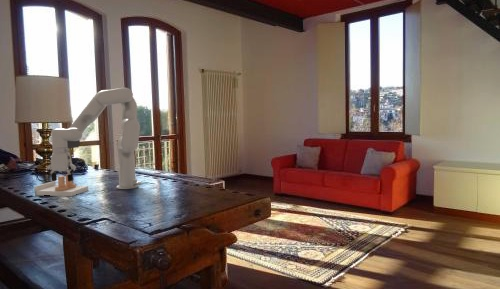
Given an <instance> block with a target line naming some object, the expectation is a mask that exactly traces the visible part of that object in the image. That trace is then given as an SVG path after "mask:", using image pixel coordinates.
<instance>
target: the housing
mask: <svg viewBox="0 0 500 289" xmlns="http://www.w3.org/2000/svg"><path fill="white" fill-rule="evenodd" d="M73 182H74V180H73V181H68V174H65V186H69V189H68V190H64V191H55V187H58V184H56V181H49V182H45V183H42V184H38V185H35V186H34V196H44V195H50V197H51V196H53V197H73V196H74V197H75V196H77V195H79V194H81V193H85V192H88V191H89V186H88V185H77V184H76V183H73ZM76 194H77V195H76Z"/></svg>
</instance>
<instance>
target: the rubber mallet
mask: <svg viewBox="0 0 500 289" xmlns="http://www.w3.org/2000/svg"><path fill="white" fill-rule="evenodd" d="M80 145H81V139H80V140H78V141H67V146H68V149H70V150H69V151H68V153H70V156H71V161H72V164H73V159H72V149H74V148H79V147H80ZM73 165H74V164H73ZM71 170H72V169H71ZM66 173H67V172H66ZM67 174H68V173H67ZM67 174H66V175H67ZM72 176H73V179H72V181H73V182H74V173H73V174H72Z"/></svg>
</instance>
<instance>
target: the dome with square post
mask: <svg viewBox="0 0 500 289" xmlns="http://www.w3.org/2000/svg"><path fill="white" fill-rule="evenodd" d="M57 181H58V182H57V183H58V184H57V185H58V187H55V191H64V190H68V189H69V186H65V184H66V175H65V176H64V175H59V176H57Z"/></svg>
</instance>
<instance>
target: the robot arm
mask: <svg viewBox="0 0 500 289" xmlns="http://www.w3.org/2000/svg"><path fill="white" fill-rule="evenodd" d="M133 96H134V93H133V91H132V90H131V89H130V88H128V87H120V88H119V87H118V88H113V89H102V90H100V91H98V92H97V93H96V94H95V95H93V97H92V99H91V100H90V101H89V102H88V104H87V105H86V106H85V107H84V108H83V110H81V113H80V114H79V115H78V116H77V117H76V119H75V120H74V121H73V122H72V123H71V125H70V126H69V127H68V128H53V129H52V130H51V145H52V146H51V147H52V154H51V160H50V164H49V165H46V169H47V171H48V172H49V174H50V175H51V182H53V181H55V182H56V181H58V176H57V173H56V172H66V173H68V181H72V179H73V178H74V172H76V169H77V166H76V165H75V164H72V163H73V160H72V161H71V158H72V155H71V156H70V153H68V151H69V150H70V149H68V146H67V141H78V140H80V141H81V139H82V137H83V133H84V131H85V130H86V129H87V128H88V127H89V126H90V125H91V124H92V123H93V122H95V121H96V120H97V119H98V117H100V115H101V114H102V112H103V111H104V110H105V109H106V107H108V106H111V105H119V104H121V107H122V108H121V109H122V112H121V120H120V131H122V136H120V137H119V138H118V140H117V143H116V146H117V147H116V149H117V150H116V151H117V156H118V157H117V158H118V161H117V162H118V165H117V166H118V185H116V189H118V190H130V189H136V188H138V187H139V186H141V185H142V181H141V180H140V181H138V179H136V158H135V157H136V156H135V151H136V150H137V148H138V147H139V146H138V145H139V140H140V139H139V138H140V133H141V132H140V131H141V126H140V122H139V121H138V120H137V116H138V105H137V101H136V100H135V98H134V97H133ZM71 169H72V170H71ZM72 174H73V176H72Z"/></svg>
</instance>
